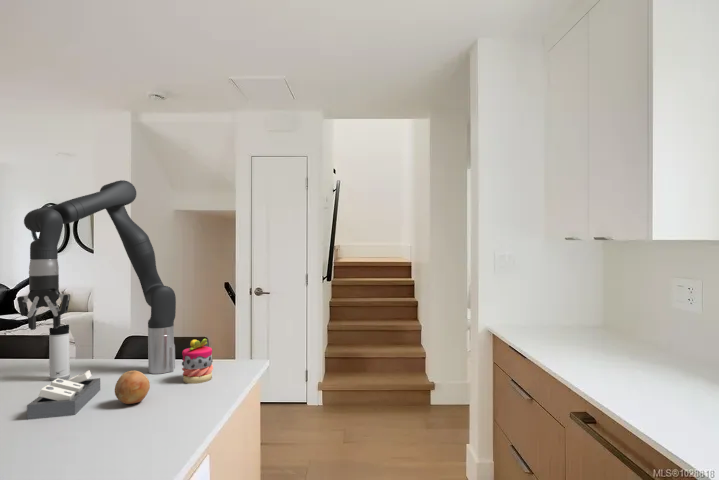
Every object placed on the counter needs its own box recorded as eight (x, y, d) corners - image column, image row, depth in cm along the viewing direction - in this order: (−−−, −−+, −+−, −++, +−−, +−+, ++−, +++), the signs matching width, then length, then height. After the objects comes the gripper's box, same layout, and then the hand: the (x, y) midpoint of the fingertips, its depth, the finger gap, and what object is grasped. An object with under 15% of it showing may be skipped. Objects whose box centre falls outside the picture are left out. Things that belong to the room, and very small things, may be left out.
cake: (175, 382, 163) (175, 340, 163) (196, 374, 173) (196, 334, 173) (199, 385, 159) (198, 341, 159) (219, 376, 169) (218, 336, 169)
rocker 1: (73, 398, 138) (75, 391, 138) (67, 403, 134) (70, 395, 134) (44, 391, 136) (47, 384, 136) (38, 396, 132) (41, 388, 132)
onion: (157, 399, 144) (157, 367, 145) (132, 410, 135) (131, 376, 135) (133, 396, 148) (132, 365, 148) (107, 407, 138) (106, 373, 138)
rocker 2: (91, 375, 153) (89, 369, 153) (87, 379, 149) (84, 373, 148) (66, 385, 151) (63, 380, 151) (61, 389, 147) (58, 383, 146)
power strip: (107, 382, 164) (107, 371, 164) (75, 414, 132) (74, 400, 132) (70, 385, 161) (69, 374, 161) (27, 419, 129) (27, 405, 129)
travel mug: (60, 381, 166) (60, 326, 167) (45, 380, 168) (44, 326, 168) (74, 376, 173) (74, 323, 173) (59, 376, 174) (59, 323, 174)
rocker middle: (81, 390, 145) (84, 384, 146) (76, 395, 141) (79, 388, 141) (54, 384, 144) (57, 377, 144) (49, 388, 139) (51, 381, 139)
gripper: (74, 272, 147) (75, 325, 147) (23, 274, 143) (23, 328, 143) (65, 273, 140) (66, 329, 139) (11, 275, 136) (11, 332, 136)
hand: (44, 328), depth 141 cm, fingers open, 5 cm apart
